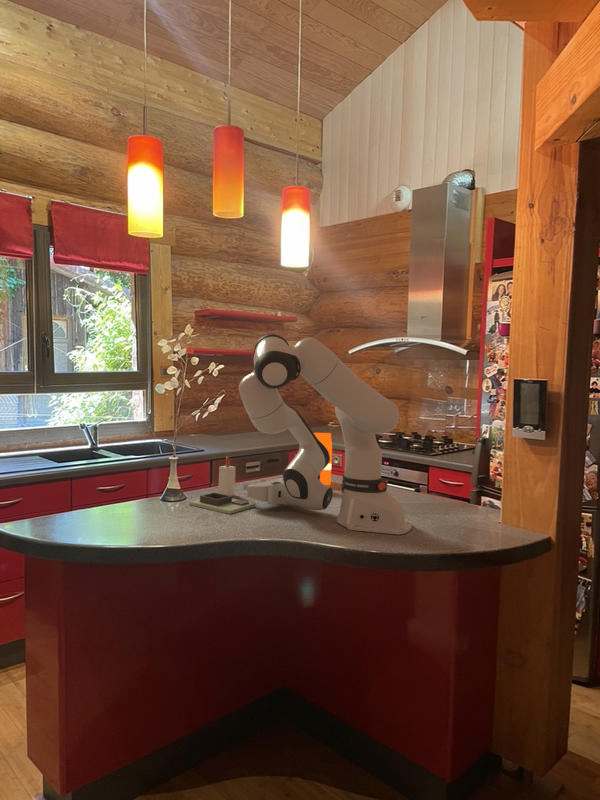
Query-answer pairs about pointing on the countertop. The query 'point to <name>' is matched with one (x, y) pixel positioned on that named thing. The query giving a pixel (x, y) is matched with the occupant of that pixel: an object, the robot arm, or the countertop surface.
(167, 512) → the countertop surface
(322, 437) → the orange juice
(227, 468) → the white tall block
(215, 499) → the board
